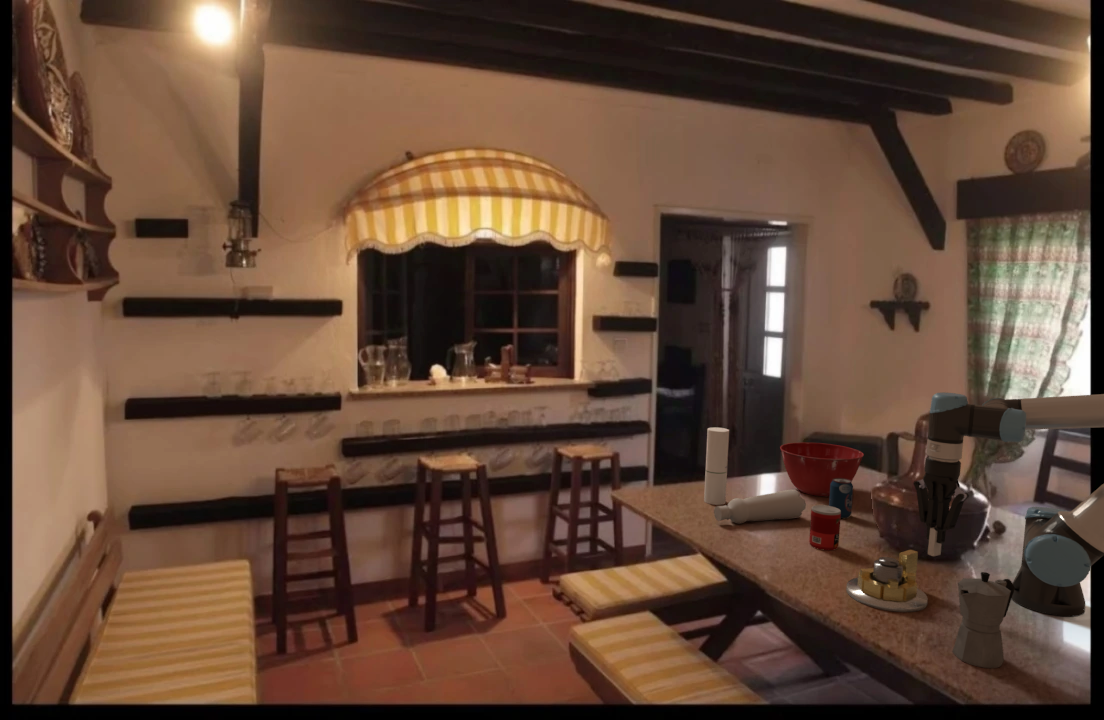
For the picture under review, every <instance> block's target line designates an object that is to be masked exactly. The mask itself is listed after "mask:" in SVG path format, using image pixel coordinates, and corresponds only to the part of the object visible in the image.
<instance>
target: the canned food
mask: <svg viewBox="0 0 1104 720" xmlns="http://www.w3.org/2000/svg"><path fill="white" fill-rule="evenodd" d="M809 523H810V524H809V539H808V540H809V541H808V542H809V545H810V546H811V548H814V547H815V549H817V548H818V549H817V550H821V549H824V550H823V551H835V550H834V549H836V550H838V548H839V546H840V545H839V543H840V530H841V510H840V509H838V508H835V507H832V506H829V505H826V504H825V505H824V504H815V505H812V506H811V511H810V522H809Z"/></svg>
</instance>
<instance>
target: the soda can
mask: <svg viewBox="0 0 1104 720" xmlns="http://www.w3.org/2000/svg"><path fill="white" fill-rule="evenodd" d="M852 482H853V480H852V481H851V480H849V479H845V478H833V481H832V482H831V484H830V496H828V497H829V500H828V506H832V507H835V508H838V509H840V510H841V518H847V519H849V518H850V516H852V512H853V511H852V509H853V492H854V485H853V484H852Z"/></svg>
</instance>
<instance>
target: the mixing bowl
mask: <svg viewBox="0 0 1104 720" xmlns="http://www.w3.org/2000/svg"><path fill="white" fill-rule="evenodd" d="M779 448H780V449H779V450H780V451H781V452H780V453H781V455H782V460H783V461H782V462H783V465H784V467H785V471H786V473H787V476H788V477H789V480H790V481H791V483H792V485H793V486H794V487H795V488H797V489H798V490H799V492H800V493H804V494H806V495H810V496H816V497H830V484H831V482H832V481H833V478H845V479H849V480H851V481H852V482H853V480H854V479H855V476H856V474H857V472H858V470H859V468H860V465H861V461H862V460H863V457H864V455H865V454H864V453H863V452H862V451H861V450H859V449H855V448H852V447H849V446H844V445H839V444H838V445H837V444H831V443H822V442H806V441H805V442H803V441H802V442H789V443H784V444H782V445H780V446H779Z"/></svg>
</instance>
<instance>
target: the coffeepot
mask: <svg viewBox="0 0 1104 720" xmlns="http://www.w3.org/2000/svg"><path fill="white" fill-rule="evenodd" d="M980 576H981V578H975V577H973V578H972V577H970V578H967V577H965V578H963V577H962V579H961V580H960V581H958V582H957V587H958V588H957V589H958V598H959V599H958V600H959V611H960V612H959V613H960V615H961V616H962V621H961V623H960V625H959V627H958V628H959V629H958V631H957V635H956V638H955V642H954V645H953V648H952V651H951V652H952V653H953V654H954V655H955V657H956V658H957V659H959V660H960V661H962V662H964V663H965V664H968V665H971V666H974V667H978V668H982V669H983V668H984V669H996V668H997V669H998V668H1000V667H1001V666H1003V663H1004V661H1005V657H1004V649H1003V638H1002V631H1001V624H1002V623H1003V621H1004V618H1005V617H1006V616H1007V613H1008V610H1009V607H1010V605H1011V601H1012V595H1013V593H1014V589H1015V587H1014V585H1013V582H1012V580H1011V579H1009V578H1004V579H996V580H995V581H993V580H992V581H991V580H989V579H990V576H991V574H990V573H989V572H986V571H981V572H980Z"/></svg>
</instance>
